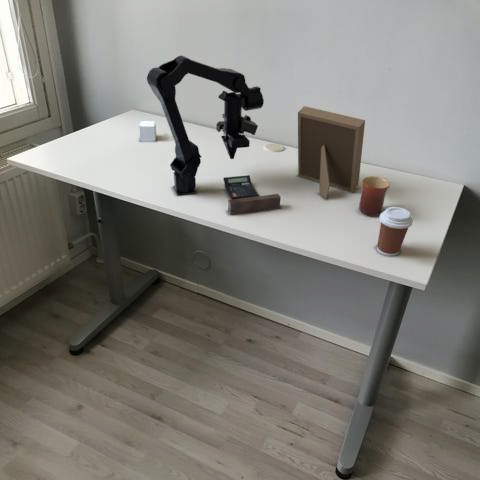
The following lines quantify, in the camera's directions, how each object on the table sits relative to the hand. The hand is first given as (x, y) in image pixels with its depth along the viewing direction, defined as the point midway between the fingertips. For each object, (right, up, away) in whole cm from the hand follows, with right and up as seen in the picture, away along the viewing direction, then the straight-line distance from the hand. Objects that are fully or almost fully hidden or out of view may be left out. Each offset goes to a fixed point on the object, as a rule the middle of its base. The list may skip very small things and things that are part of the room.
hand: (231, 158), depth 171 cm
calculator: (+3, -12, -2) cm, 13 cm away
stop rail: (+7, -21, -12) cm, 25 cm away
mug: (+46, -20, -10) cm, 52 cm away
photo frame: (+31, -10, +2) cm, 33 cm away
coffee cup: (+46, -36, -28) cm, 65 cm away
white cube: (-35, +19, +33) cm, 52 cm away
